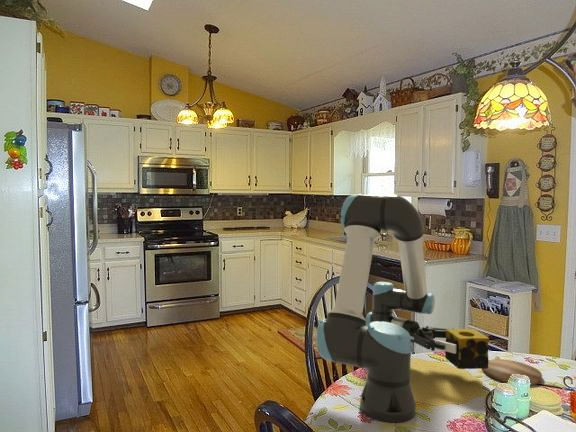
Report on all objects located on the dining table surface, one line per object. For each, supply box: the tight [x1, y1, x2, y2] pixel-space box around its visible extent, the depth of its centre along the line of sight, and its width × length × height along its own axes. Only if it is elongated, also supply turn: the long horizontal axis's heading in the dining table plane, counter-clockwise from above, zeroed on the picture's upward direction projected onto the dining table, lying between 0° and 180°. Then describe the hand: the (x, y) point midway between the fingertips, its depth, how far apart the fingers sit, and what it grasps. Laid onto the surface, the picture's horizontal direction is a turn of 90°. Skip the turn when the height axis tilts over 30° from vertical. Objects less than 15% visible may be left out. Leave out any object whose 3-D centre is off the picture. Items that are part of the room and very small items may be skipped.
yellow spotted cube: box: [444, 328, 490, 370], centre depth 139 cm, size 10×10×10 cm
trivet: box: [481, 358, 543, 386], centre depth 145 cm, size 18×18×2 cm
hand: (464, 344), depth 140 cm, fingers closed on yellow spotted cube, 13 cm apart
